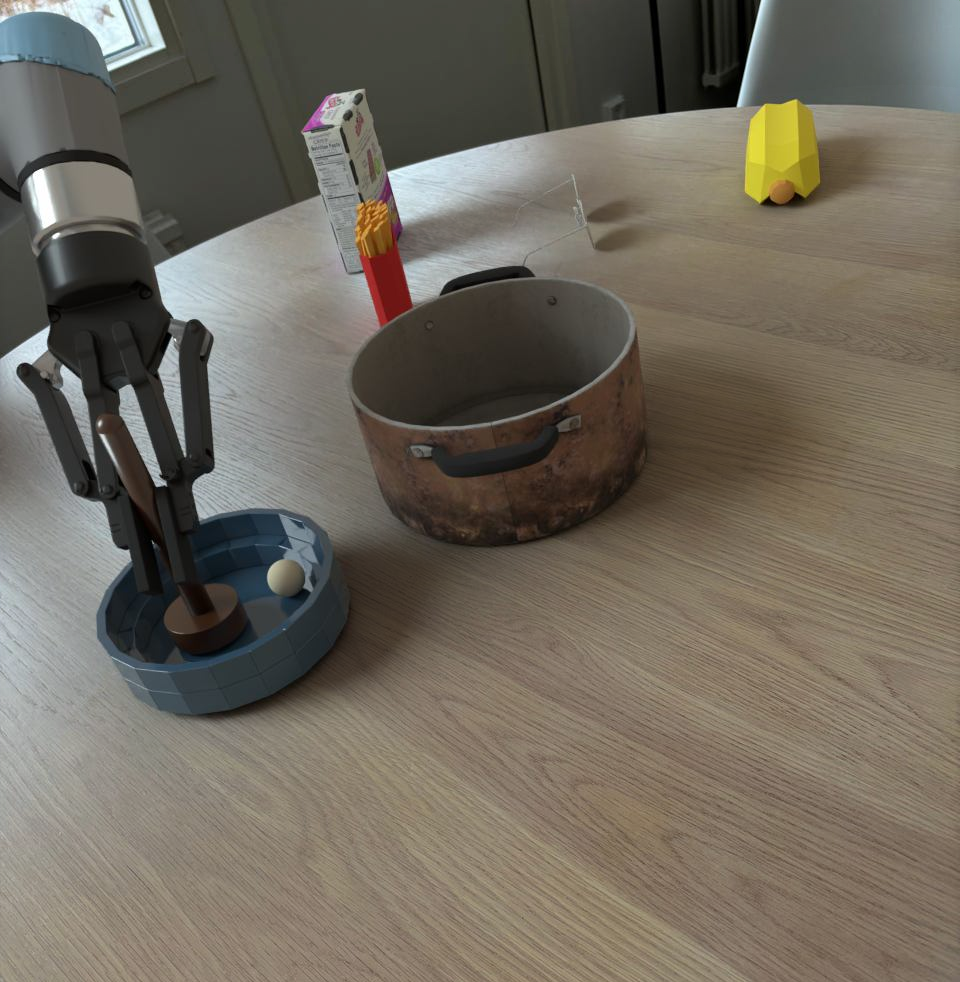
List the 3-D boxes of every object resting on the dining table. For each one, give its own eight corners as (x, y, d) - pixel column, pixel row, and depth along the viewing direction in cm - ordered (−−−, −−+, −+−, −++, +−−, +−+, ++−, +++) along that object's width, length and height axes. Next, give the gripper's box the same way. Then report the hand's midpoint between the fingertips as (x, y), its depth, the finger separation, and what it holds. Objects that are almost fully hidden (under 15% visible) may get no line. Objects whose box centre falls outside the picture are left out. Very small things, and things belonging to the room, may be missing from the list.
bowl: (132, 756, 71) (99, 706, 67) (121, 605, 84) (93, 557, 80) (375, 666, 72) (355, 613, 69) (328, 531, 85) (308, 481, 82)
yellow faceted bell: (744, 218, 111) (820, 208, 109) (742, 153, 107) (821, 142, 105) (747, 153, 124) (815, 144, 121) (745, 93, 119) (816, 82, 117)
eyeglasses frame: (598, 257, 111) (584, 213, 108) (524, 286, 113) (508, 243, 110) (584, 208, 122) (571, 167, 118) (516, 235, 123) (501, 195, 120)
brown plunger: (172, 663, 75) (55, 447, 63) (175, 616, 79) (66, 406, 68) (248, 641, 75) (145, 422, 63) (247, 595, 79) (150, 382, 68)
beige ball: (267, 599, 77) (255, 565, 77) (285, 605, 79) (273, 572, 80) (300, 583, 76) (287, 549, 77) (316, 589, 79) (304, 556, 79)
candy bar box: (365, 235, 130) (325, 94, 119) (404, 229, 128) (367, 86, 117) (343, 276, 122) (298, 129, 111) (384, 271, 120) (342, 121, 109)
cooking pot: (676, 553, 74) (663, 424, 67) (372, 604, 77) (328, 486, 70) (626, 350, 96) (613, 236, 89) (392, 395, 99) (360, 289, 92)
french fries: (378, 309, 113) (346, 199, 105) (413, 300, 113) (384, 189, 105) (382, 345, 107) (349, 230, 99) (420, 335, 107) (389, 220, 99)
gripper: (214, 247, 74) (289, 568, 73) (15, 299, 75) (86, 618, 74) (179, 199, 67) (262, 555, 66) (-42, 257, 68) (37, 611, 66)
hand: (169, 588), depth 70 cm, fingers closed on brown plunger, 2 cm apart
